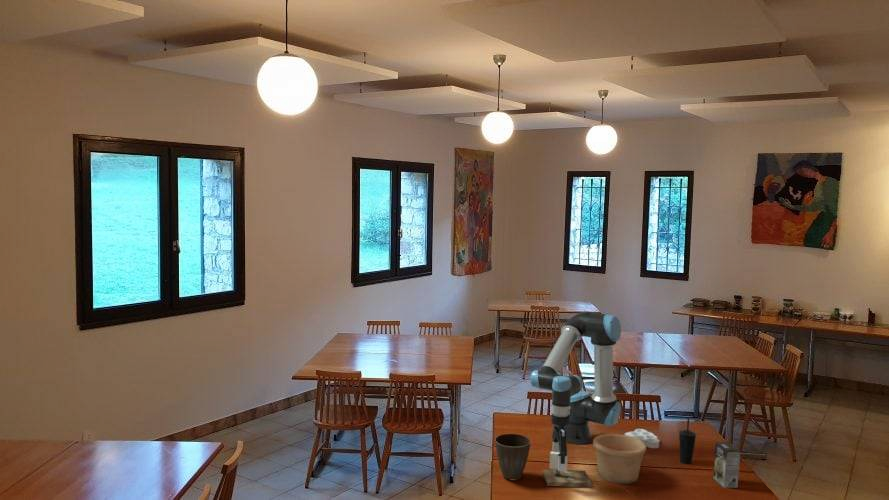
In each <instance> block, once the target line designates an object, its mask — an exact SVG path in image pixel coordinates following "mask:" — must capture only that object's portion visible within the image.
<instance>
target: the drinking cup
mask: <svg viewBox="0 0 889 500" xmlns="http://www.w3.org/2000/svg"><path fill="white" fill-rule="evenodd" d="M686 423H687V424H686V428H685V429H680V430H678V436H679V440H678V442H679V460H680V461H679V462H680V463H682V464H684V465H691V464H692V462H693V455H694V449H695V445H696V444H695V443H696V437H697V432H695V431H693V430H691V429H689V427H690V418H687V422H686Z"/></svg>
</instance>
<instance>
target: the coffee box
mask: <svg viewBox="0 0 889 500" xmlns="http://www.w3.org/2000/svg"><path fill="white" fill-rule="evenodd" d="M714 448H715V449H714V464H713V480H715V481H716V482H717V483H718V484H719V485H720V486H721V487H722V488H723V489H724V488H725V489H727V488H729V489H731V488H738V486H739V473H740V459H741V458H740V457H741V450H740V448H737V447H736V446H735V445H734V444H733V443H731V442H724V441H715V446H714Z"/></svg>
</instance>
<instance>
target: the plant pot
mask: <svg viewBox="0 0 889 500" xmlns="http://www.w3.org/2000/svg"><path fill="white" fill-rule="evenodd" d="M531 441H532V440H531V439H530V438H529V437H527V436H526V435H522V434H517V433H503V434H500V435H497V436H495V439H494V443H495V451H496V457H497V461H498V465H499V467H500V471H501V474H502V477H503V476H504V477H505V478H507V479H514V480H513V481H516V480H515V479H519V478H520V479H521V478H522V475H523V473H524V471H525V468H526V466H527V465H526V464H527V461H528V459H529V458H528V457H529V453H530V447H531ZM504 477H503V478H504ZM505 478H504V479H505ZM507 479H506V480H507ZM520 479H519V480H520Z"/></svg>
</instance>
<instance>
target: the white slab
mask: <svg viewBox="0 0 889 500" xmlns="http://www.w3.org/2000/svg"><path fill="white" fill-rule="evenodd" d="M558 454H560V453H559V452H553V450H552V451H550V453H549V470H556V475H560V471H558V464H559V456H558ZM568 455H569V454H568V453H567V456H566V464H565V471H567V470H568V457H569V456H568ZM561 475H564V476H571V477H575V475H571V474H564V473H561Z"/></svg>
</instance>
